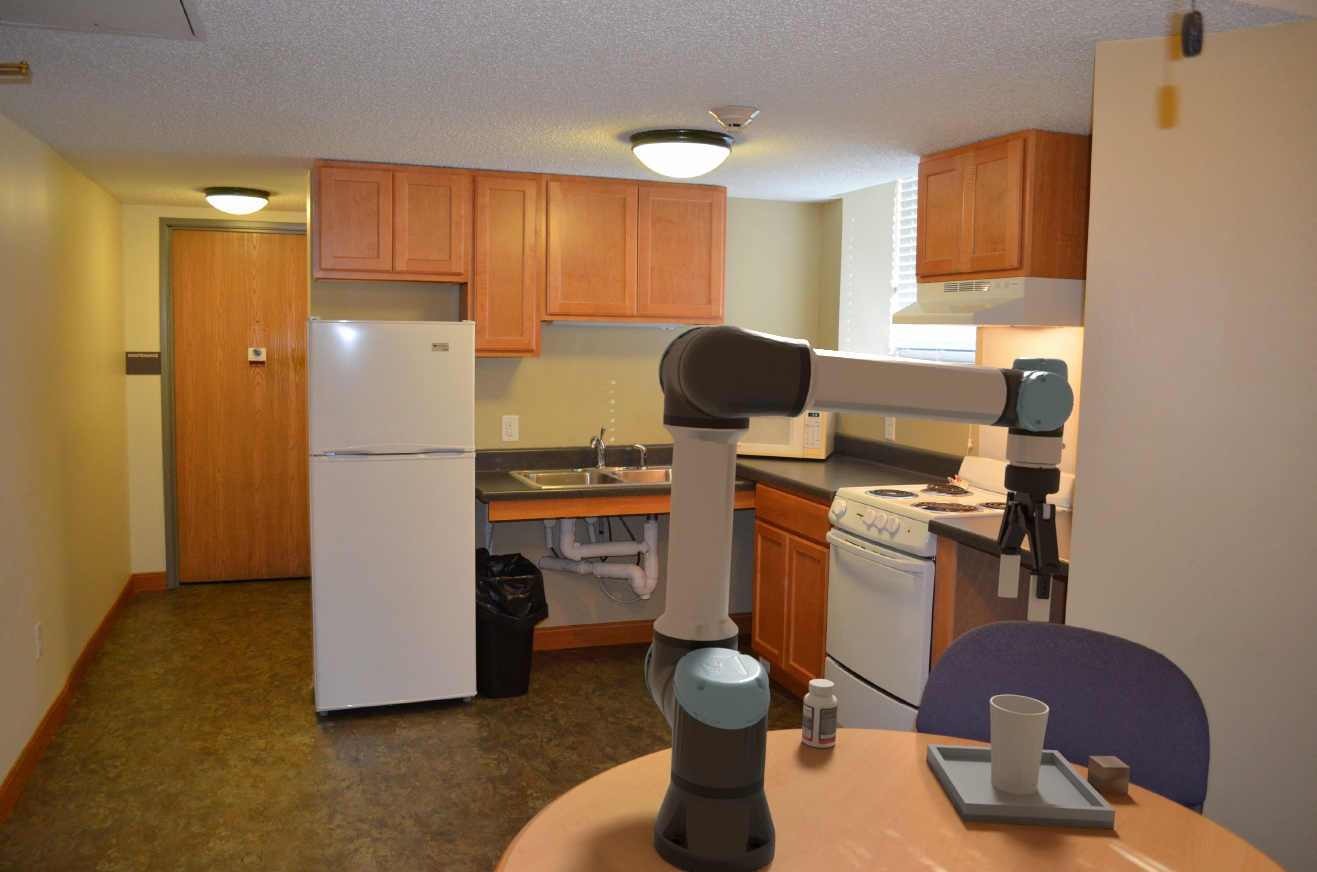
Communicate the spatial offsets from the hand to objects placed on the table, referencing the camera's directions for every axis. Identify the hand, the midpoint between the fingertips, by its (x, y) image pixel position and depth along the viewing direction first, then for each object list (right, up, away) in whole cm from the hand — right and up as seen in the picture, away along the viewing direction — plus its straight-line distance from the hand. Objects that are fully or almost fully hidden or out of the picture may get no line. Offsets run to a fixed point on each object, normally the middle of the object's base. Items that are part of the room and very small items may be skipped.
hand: (1022, 608), depth 142 cm
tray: (-2, -26, -2) cm, 26 cm away
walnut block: (+13, -27, +1) cm, 30 cm away
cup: (-2, -25, -2) cm, 25 cm away
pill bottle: (-28, -24, +13) cm, 39 cm away
